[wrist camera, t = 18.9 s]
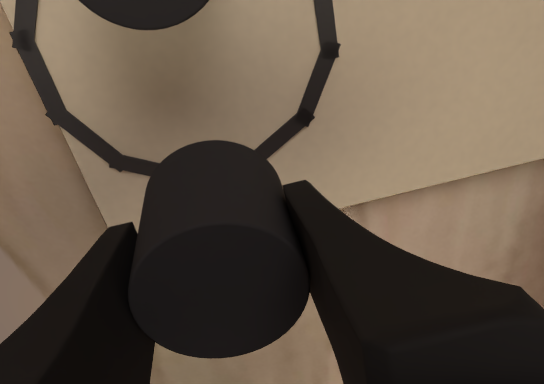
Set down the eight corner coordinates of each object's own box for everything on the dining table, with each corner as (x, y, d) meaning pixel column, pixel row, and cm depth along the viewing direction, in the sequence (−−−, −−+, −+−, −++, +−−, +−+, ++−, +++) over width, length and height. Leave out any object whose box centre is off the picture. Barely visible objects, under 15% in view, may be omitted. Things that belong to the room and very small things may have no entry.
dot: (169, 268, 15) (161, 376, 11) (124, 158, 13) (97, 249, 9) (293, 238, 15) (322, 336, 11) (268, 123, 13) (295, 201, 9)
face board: (121, 251, 20) (118, 264, 20) (-106, -227, 12) (-126, -236, 11) (569, 142, 21) (583, 151, 20) (654, -399, 12) (684, -419, 12)
